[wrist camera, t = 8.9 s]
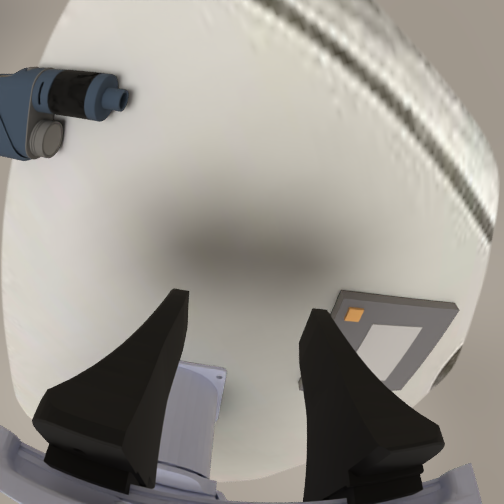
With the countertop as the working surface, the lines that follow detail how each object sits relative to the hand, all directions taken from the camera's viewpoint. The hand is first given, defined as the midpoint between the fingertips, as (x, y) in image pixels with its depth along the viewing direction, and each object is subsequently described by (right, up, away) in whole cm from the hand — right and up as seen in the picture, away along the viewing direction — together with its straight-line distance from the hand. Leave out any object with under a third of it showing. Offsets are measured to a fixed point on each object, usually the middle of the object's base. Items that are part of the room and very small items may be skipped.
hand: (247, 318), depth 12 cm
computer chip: (+10, -5, +9) cm, 14 cm away
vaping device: (-18, +12, -1) cm, 21 cm away
